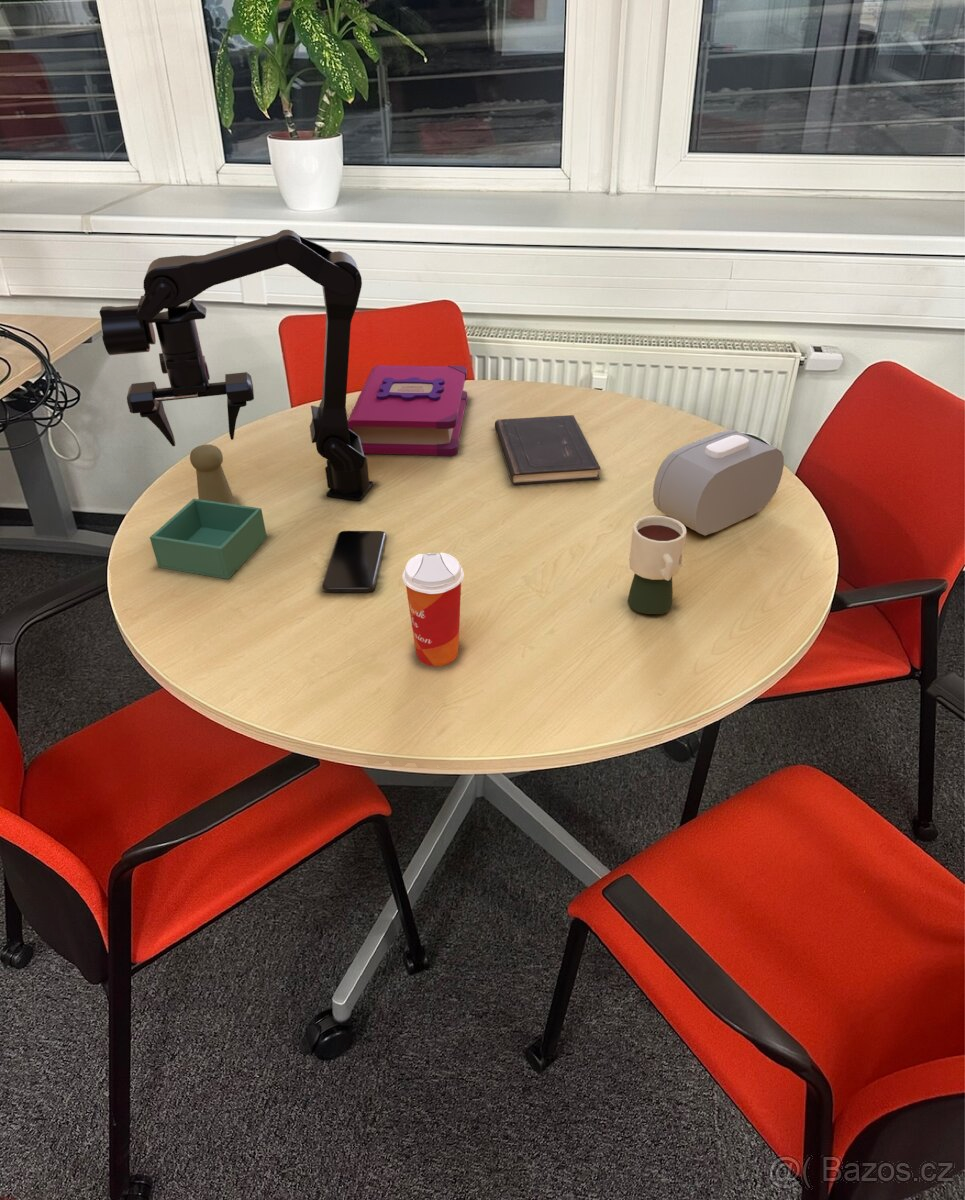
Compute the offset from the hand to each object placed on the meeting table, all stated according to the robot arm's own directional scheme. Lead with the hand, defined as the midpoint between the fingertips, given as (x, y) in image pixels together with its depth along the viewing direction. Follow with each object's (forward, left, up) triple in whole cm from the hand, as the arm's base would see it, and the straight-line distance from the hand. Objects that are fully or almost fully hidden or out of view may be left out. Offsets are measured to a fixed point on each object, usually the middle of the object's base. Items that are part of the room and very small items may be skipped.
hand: (203, 441), depth 135 cm
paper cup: (-49, +27, -12) cm, 57 cm away
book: (-21, -40, -12) cm, 47 cm away
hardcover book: (-50, -34, -12) cm, 62 cm away
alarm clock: (-82, -19, -12) cm, 85 cm away
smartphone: (-30, +10, -12) cm, 34 cm away
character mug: (-75, +9, -12) cm, 77 cm away
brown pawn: (0, 0, -12) cm, 12 cm away
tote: (-7, +13, -12) cm, 19 cm away
